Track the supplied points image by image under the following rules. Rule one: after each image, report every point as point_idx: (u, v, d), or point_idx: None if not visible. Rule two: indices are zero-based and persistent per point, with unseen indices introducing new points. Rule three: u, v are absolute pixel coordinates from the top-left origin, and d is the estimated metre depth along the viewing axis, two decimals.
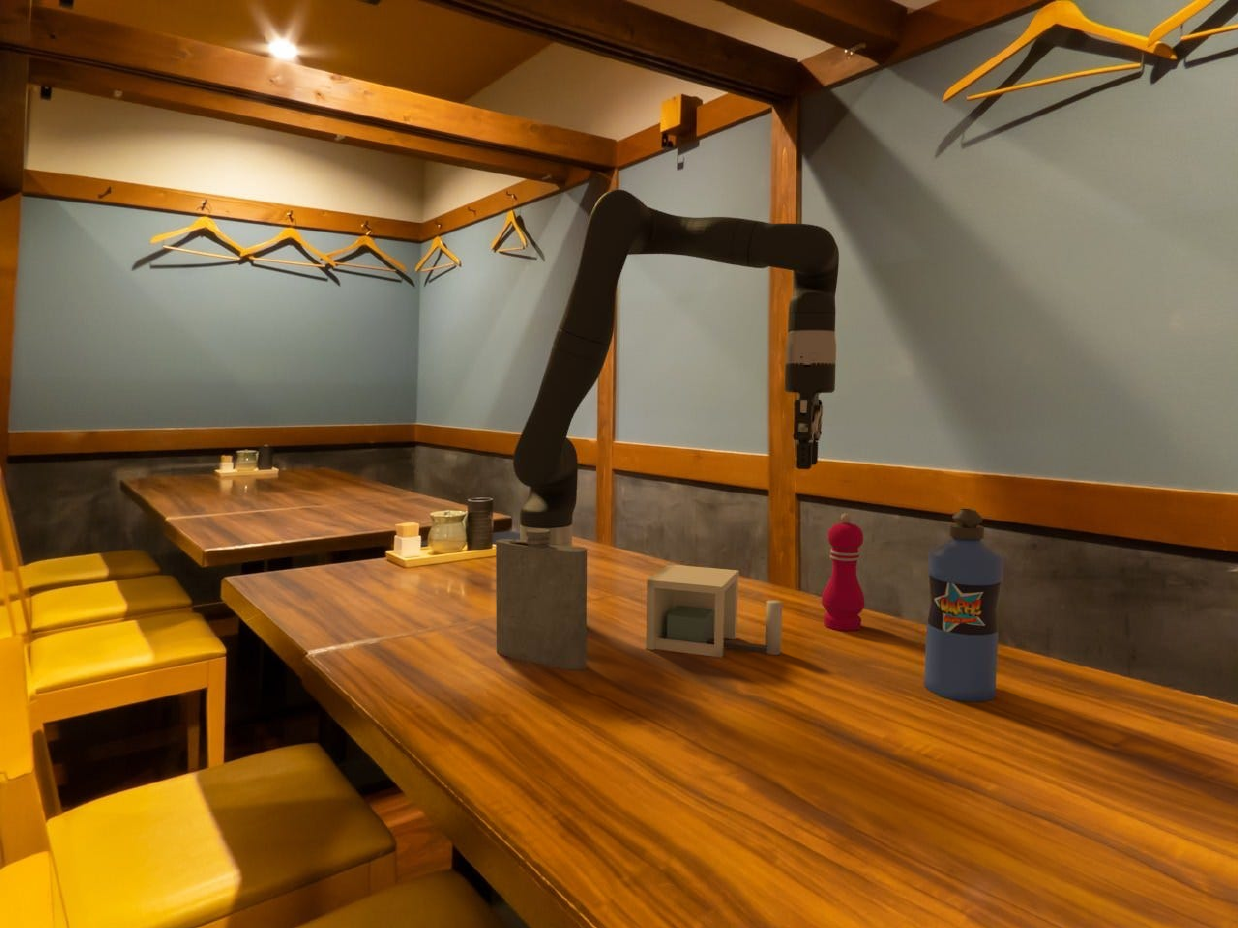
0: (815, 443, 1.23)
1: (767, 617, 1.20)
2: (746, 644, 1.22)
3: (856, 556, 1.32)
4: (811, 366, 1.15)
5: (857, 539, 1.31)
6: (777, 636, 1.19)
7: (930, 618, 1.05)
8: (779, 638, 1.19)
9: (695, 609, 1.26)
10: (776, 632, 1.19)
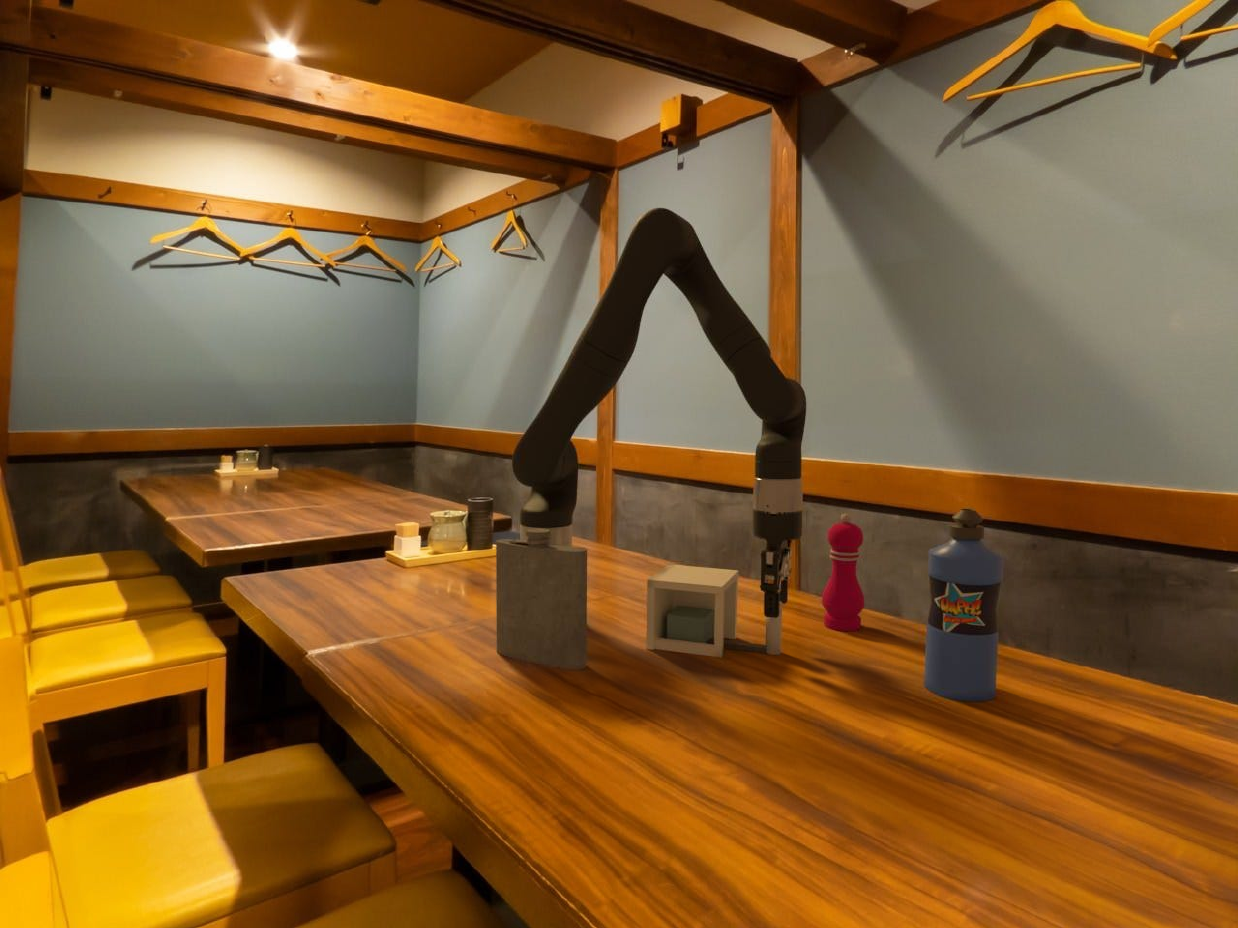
0: (784, 582, 1.23)
1: (767, 617, 1.20)
2: (746, 644, 1.22)
3: (856, 556, 1.32)
4: (777, 515, 1.15)
5: (857, 539, 1.31)
6: (777, 636, 1.19)
7: (930, 618, 1.05)
8: (779, 638, 1.19)
9: (695, 609, 1.26)
10: (776, 632, 1.19)
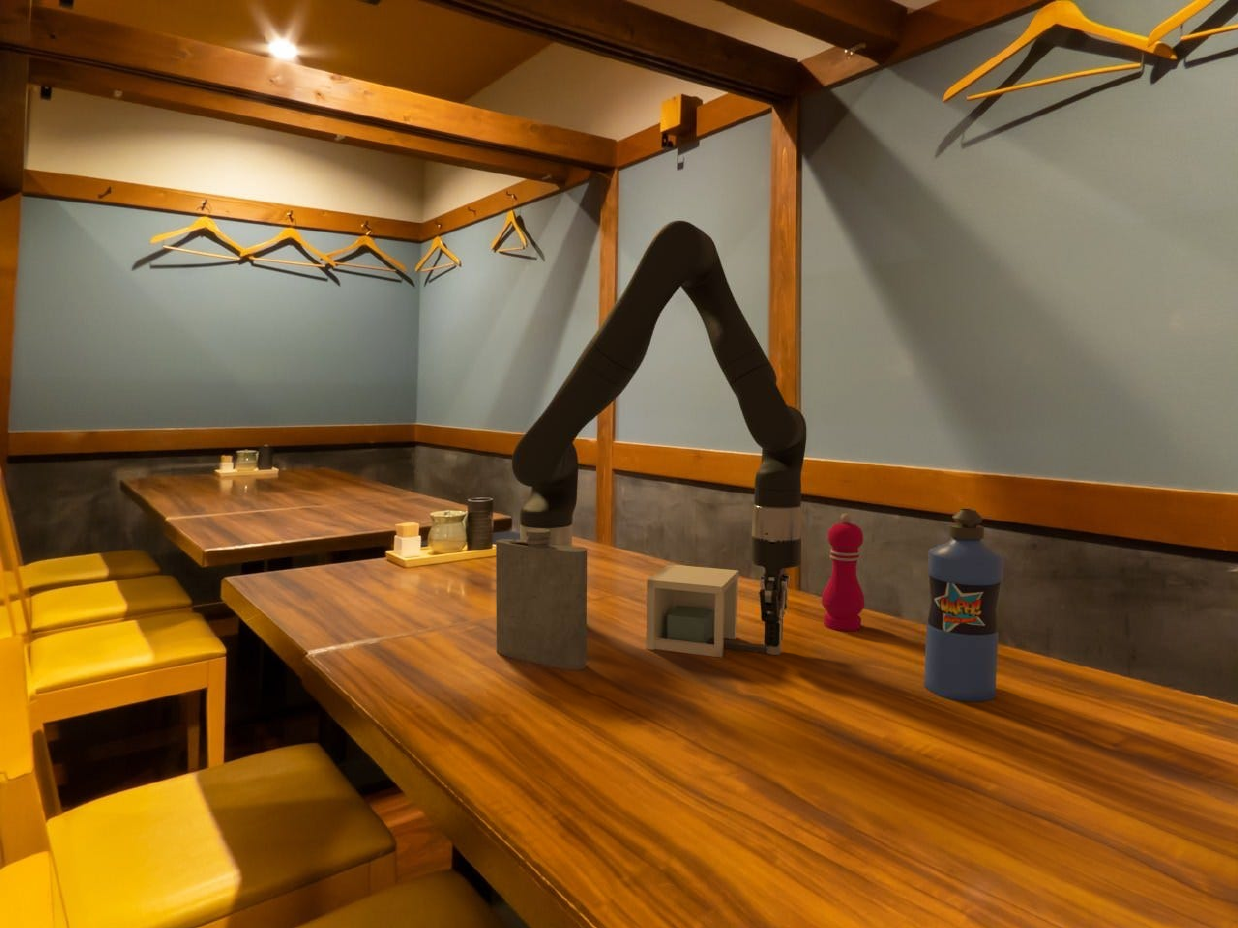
0: None
1: None
2: (746, 644, 1.22)
3: (856, 556, 1.32)
4: (776, 543, 1.15)
5: (857, 539, 1.31)
6: None
7: (930, 618, 1.05)
8: None
9: (695, 609, 1.26)
10: None
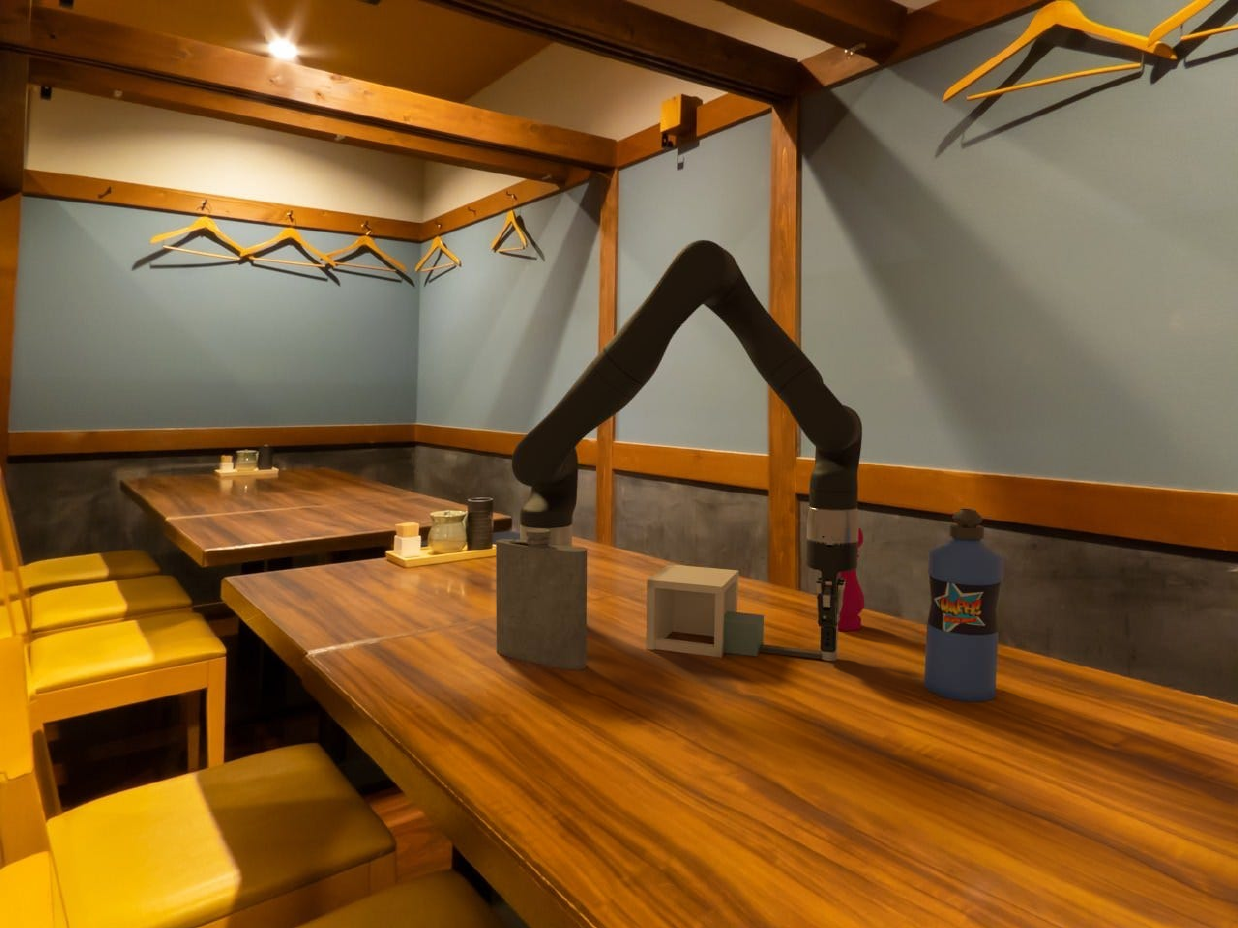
0: None
1: None
2: (800, 650, 1.19)
3: None
4: (833, 546, 1.12)
5: None
6: None
7: (930, 618, 1.05)
8: None
9: (746, 614, 1.24)
10: None
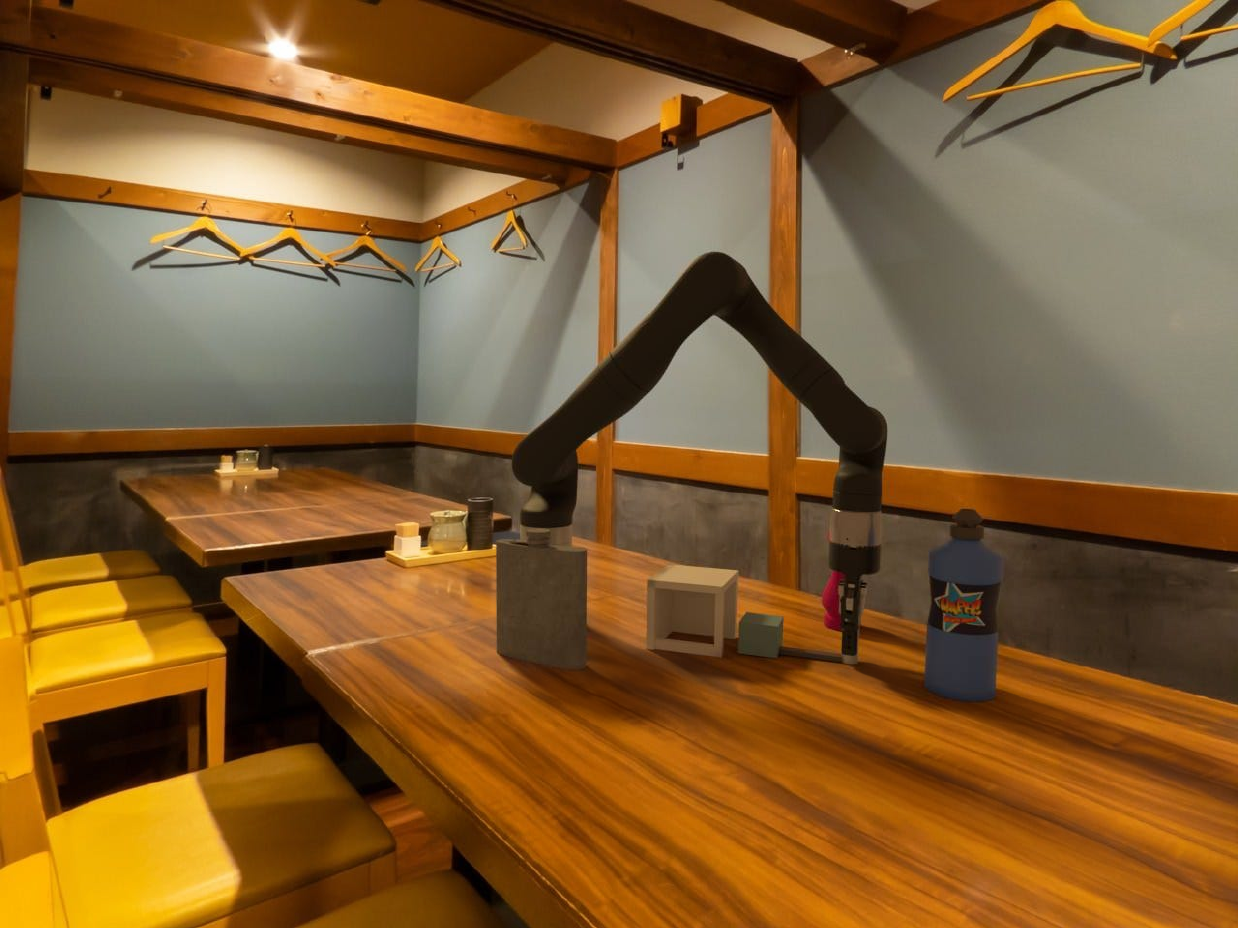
0: None
1: None
2: (820, 653, 1.18)
3: None
4: (857, 549, 1.11)
5: None
6: None
7: (930, 618, 1.05)
8: None
9: (765, 616, 1.22)
10: None
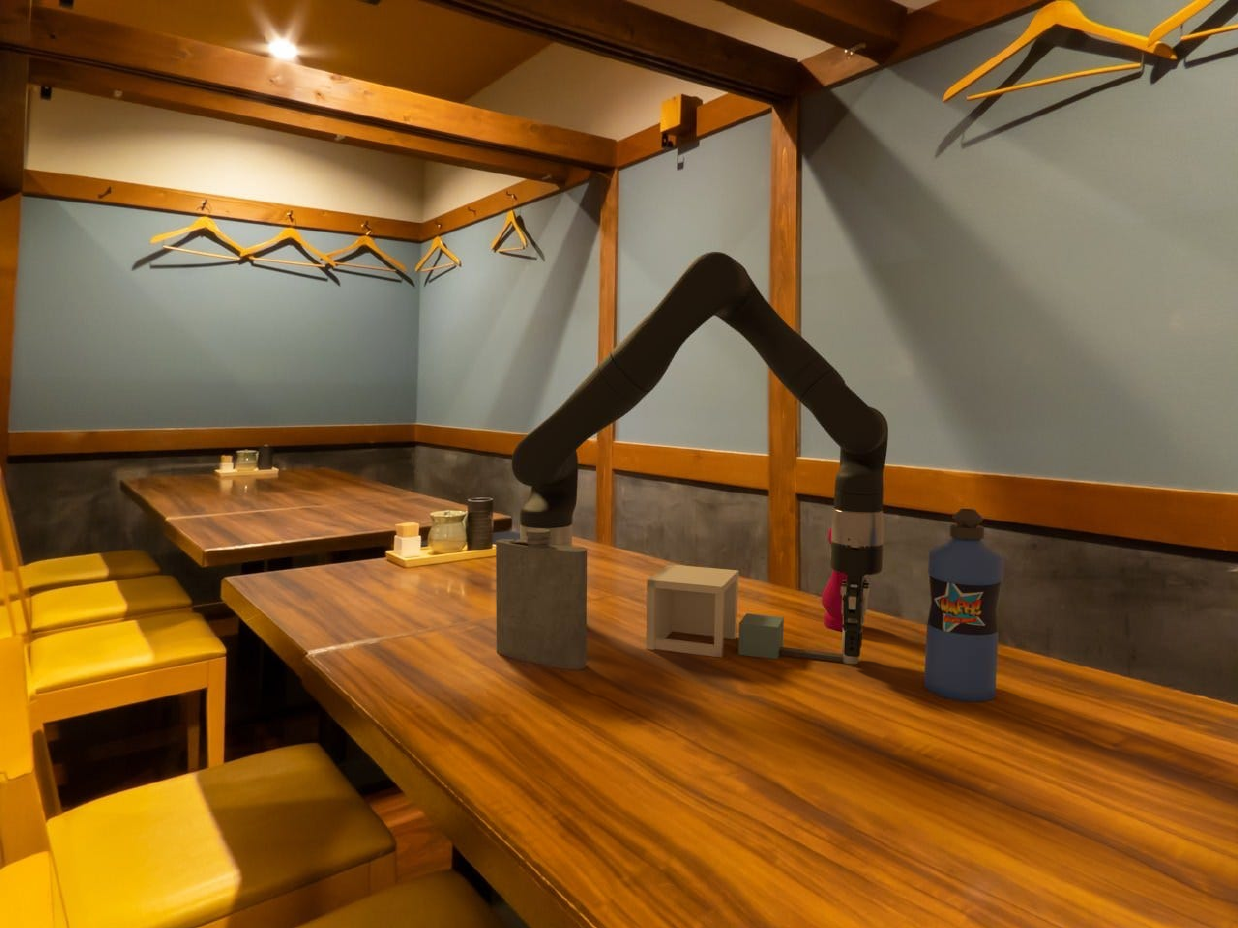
0: None
1: None
2: (821, 653, 1.18)
3: None
4: (859, 549, 1.11)
5: None
6: None
7: (930, 618, 1.05)
8: None
9: (765, 617, 1.22)
10: None
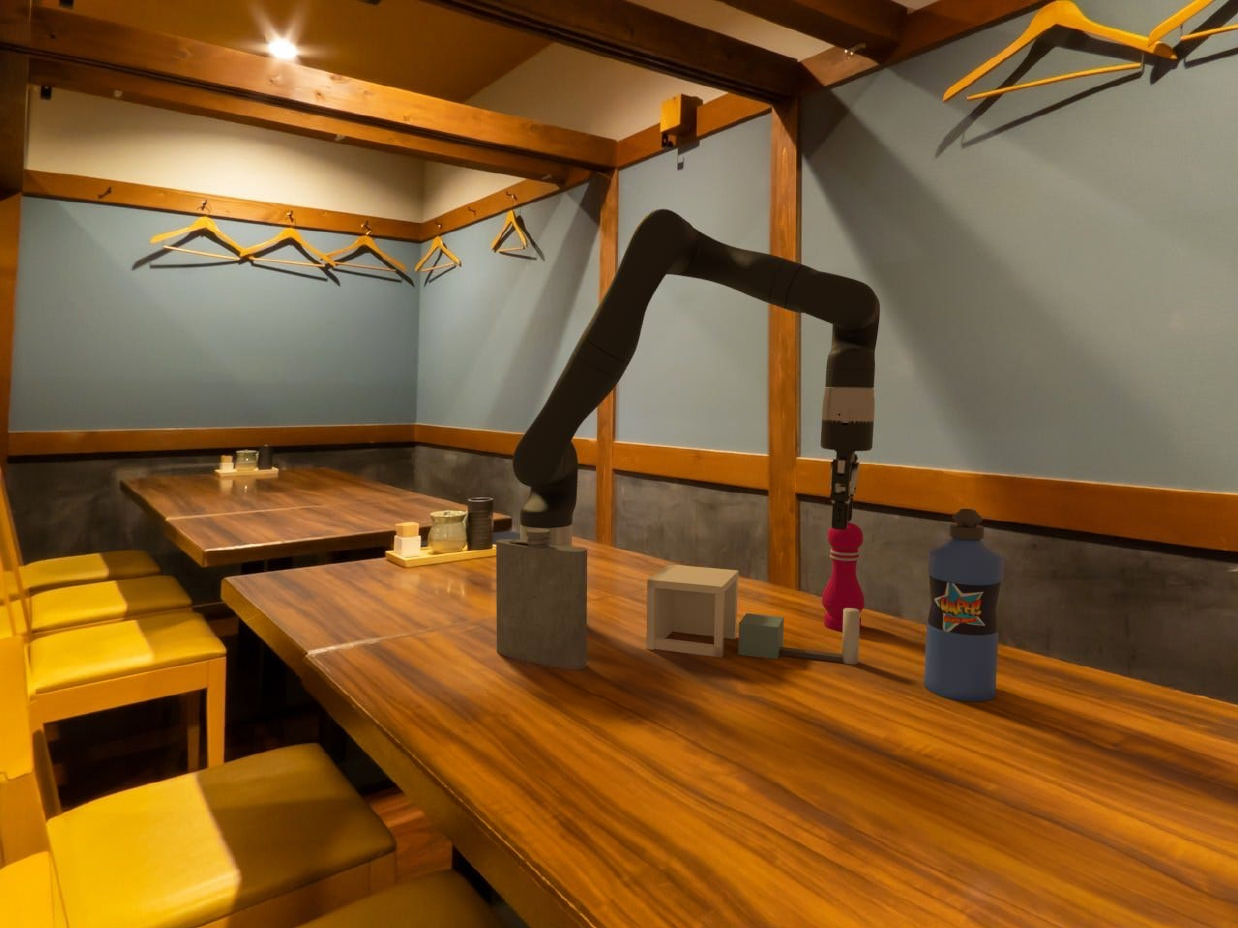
0: (850, 499, 1.20)
1: (844, 625, 1.16)
2: (821, 653, 1.18)
3: (856, 556, 1.32)
4: (849, 424, 1.12)
5: (857, 539, 1.31)
6: (855, 645, 1.15)
7: (930, 618, 1.05)
8: (857, 647, 1.15)
9: (765, 617, 1.22)
10: (854, 641, 1.15)
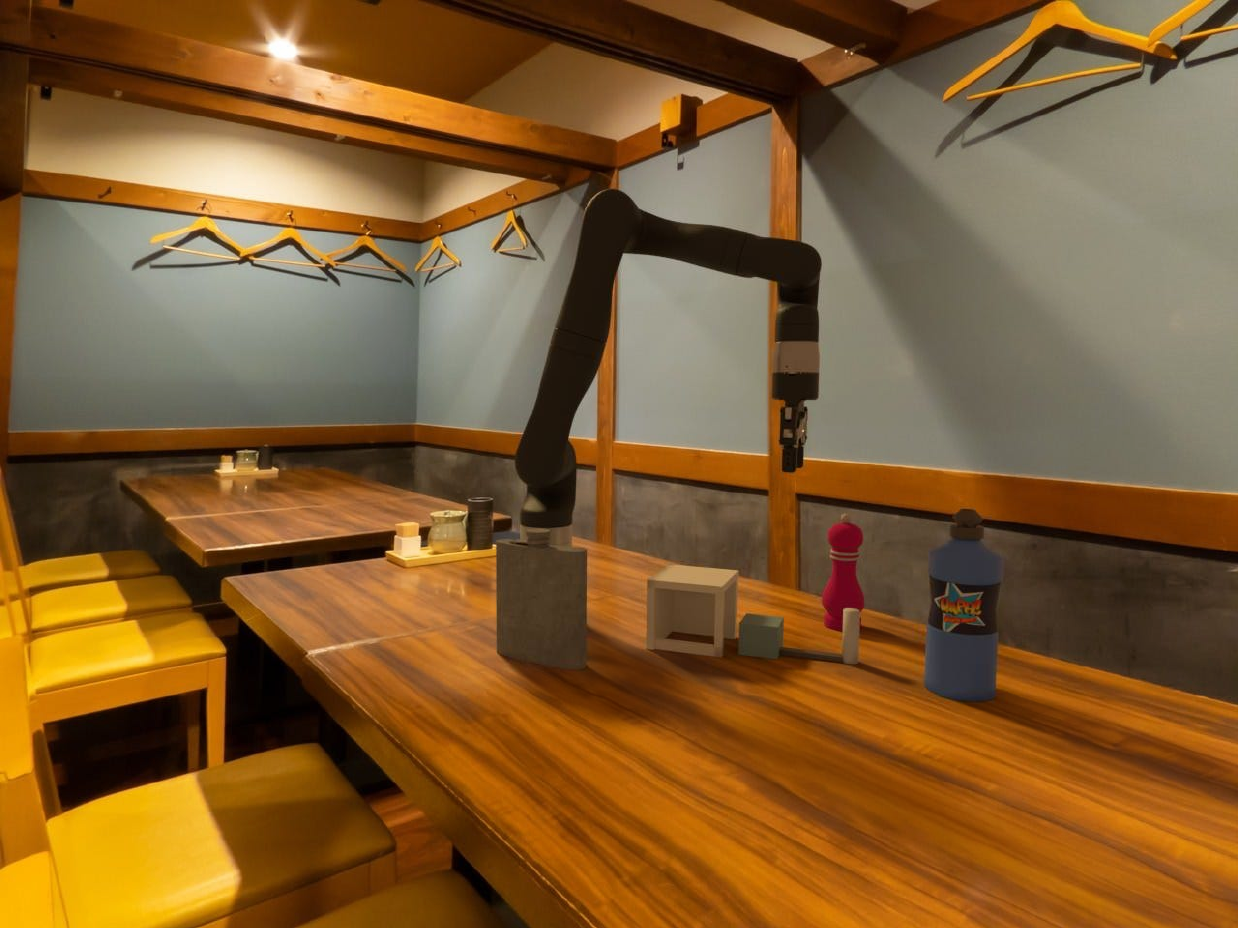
0: (801, 448, 1.29)
1: (844, 625, 1.16)
2: (821, 653, 1.18)
3: (856, 556, 1.32)
4: (796, 375, 1.21)
5: (857, 539, 1.31)
6: (855, 645, 1.15)
7: (930, 618, 1.05)
8: (857, 647, 1.15)
9: (765, 617, 1.22)
10: (854, 641, 1.15)
